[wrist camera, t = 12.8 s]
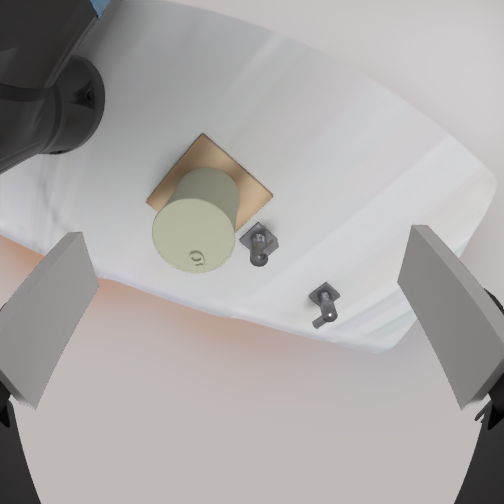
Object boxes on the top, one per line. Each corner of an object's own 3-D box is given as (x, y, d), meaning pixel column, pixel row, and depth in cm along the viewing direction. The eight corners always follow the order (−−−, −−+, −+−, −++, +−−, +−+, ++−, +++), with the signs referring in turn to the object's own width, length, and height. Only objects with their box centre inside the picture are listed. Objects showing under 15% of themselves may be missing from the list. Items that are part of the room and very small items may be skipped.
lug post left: (239, 239, 46) (238, 259, 41) (264, 216, 44) (265, 235, 39) (258, 255, 47) (259, 276, 43) (282, 233, 45) (286, 253, 41)
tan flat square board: (147, 200, 42) (145, 202, 42) (202, 133, 38) (201, 134, 37) (213, 252, 47) (212, 254, 46) (272, 194, 42) (273, 196, 41)
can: (184, 232, 44) (165, 280, 34) (167, 174, 40) (138, 209, 29) (245, 222, 44) (242, 270, 33) (233, 161, 39) (225, 192, 29)
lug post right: (303, 299, 52) (307, 321, 47) (326, 282, 50) (332, 303, 45) (317, 310, 54) (322, 332, 49) (339, 294, 52) (346, 315, 47)
